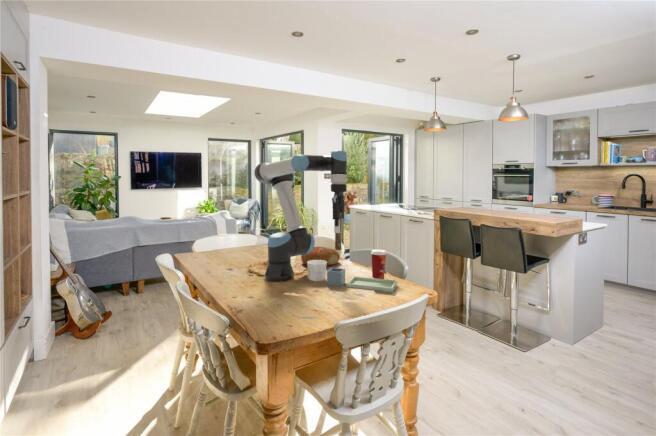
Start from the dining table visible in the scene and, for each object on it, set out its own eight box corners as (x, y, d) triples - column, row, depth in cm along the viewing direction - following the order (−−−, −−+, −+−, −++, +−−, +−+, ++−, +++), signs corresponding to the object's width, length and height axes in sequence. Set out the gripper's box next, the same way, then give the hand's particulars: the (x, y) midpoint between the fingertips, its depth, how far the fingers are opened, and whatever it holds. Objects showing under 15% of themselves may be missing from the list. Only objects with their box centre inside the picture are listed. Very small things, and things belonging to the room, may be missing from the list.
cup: (329, 279, 204) (329, 261, 203) (321, 284, 195) (321, 265, 194) (312, 277, 208) (312, 259, 207) (303, 282, 199) (303, 263, 198)
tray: (346, 288, 188) (346, 283, 188) (353, 281, 201) (353, 276, 201) (392, 293, 181) (392, 288, 181) (396, 285, 195) (396, 280, 194)
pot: (327, 287, 191) (327, 271, 190) (331, 283, 197) (331, 267, 196) (341, 288, 188) (341, 272, 187) (345, 284, 195) (345, 268, 194)
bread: (339, 268, 228) (340, 251, 227) (299, 267, 228) (299, 251, 227) (339, 259, 251) (339, 244, 250) (302, 259, 251) (302, 243, 250)
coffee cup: (385, 281, 202) (386, 252, 200) (369, 280, 203) (370, 251, 201) (386, 277, 210) (387, 249, 208) (371, 276, 211) (371, 248, 210)
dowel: (334, 250, 190) (334, 212, 188) (336, 248, 192) (336, 212, 190) (340, 250, 189) (340, 213, 187) (342, 249, 191) (342, 212, 189)
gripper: (341, 184, 178) (340, 235, 181) (350, 183, 193) (350, 230, 196) (325, 183, 181) (325, 234, 183) (336, 183, 196) (335, 229, 198)
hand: (338, 232), depth 190 cm, fingers closed on dowel, 3 cm apart
